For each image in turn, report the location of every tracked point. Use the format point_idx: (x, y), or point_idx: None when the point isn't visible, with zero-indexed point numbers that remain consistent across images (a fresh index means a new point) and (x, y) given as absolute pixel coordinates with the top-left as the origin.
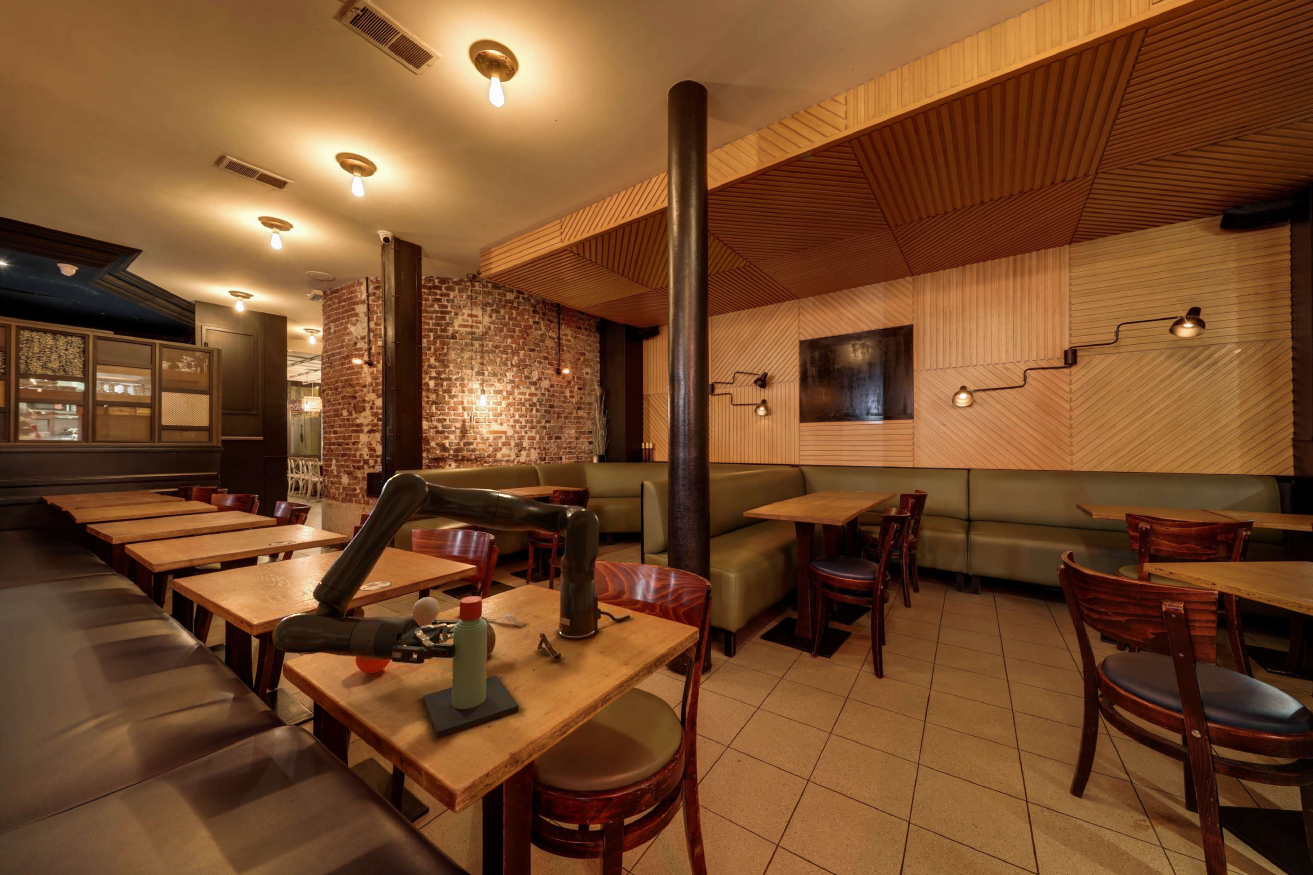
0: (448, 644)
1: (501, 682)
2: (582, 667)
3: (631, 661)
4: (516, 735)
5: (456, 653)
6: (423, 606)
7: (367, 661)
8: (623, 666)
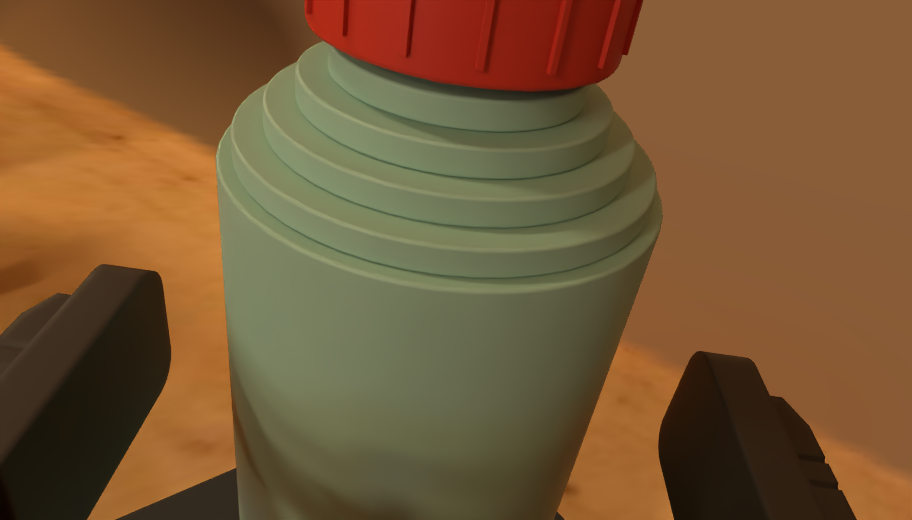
0: (736, 401)
1: (157, 503)
2: (76, 227)
3: (102, 127)
4: (605, 383)
5: (575, 453)
6: None
7: None
8: (134, 144)
